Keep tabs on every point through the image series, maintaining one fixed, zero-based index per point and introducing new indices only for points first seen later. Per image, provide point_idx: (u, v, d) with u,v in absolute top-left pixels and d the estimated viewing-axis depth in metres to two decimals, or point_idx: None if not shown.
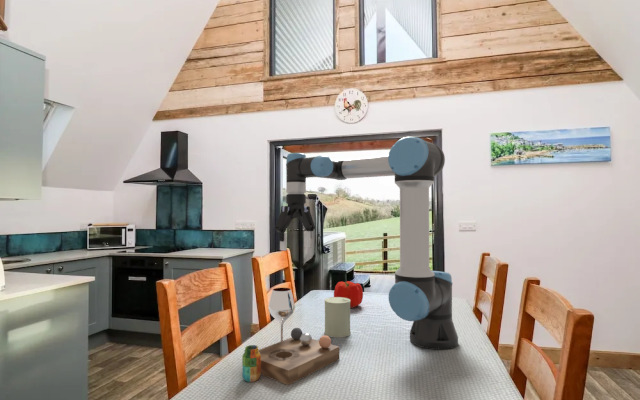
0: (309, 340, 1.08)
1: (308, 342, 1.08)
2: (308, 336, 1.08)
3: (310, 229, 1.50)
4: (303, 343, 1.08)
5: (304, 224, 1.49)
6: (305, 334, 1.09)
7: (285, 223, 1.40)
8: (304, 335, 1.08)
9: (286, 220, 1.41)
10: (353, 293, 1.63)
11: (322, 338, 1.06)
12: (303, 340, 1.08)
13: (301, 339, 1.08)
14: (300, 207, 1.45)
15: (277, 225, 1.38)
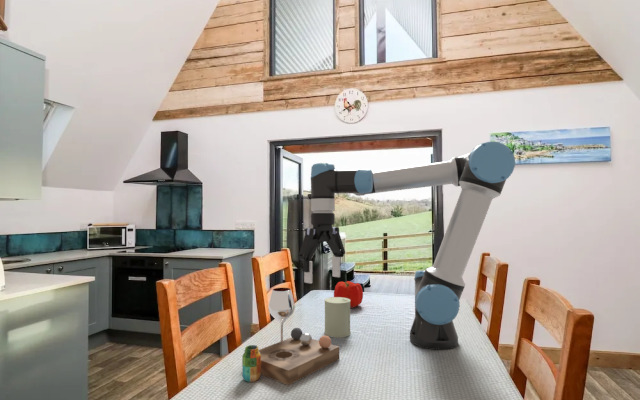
0: (309, 340, 1.08)
1: (308, 342, 1.08)
2: (308, 336, 1.08)
3: (339, 255, 1.24)
4: (303, 343, 1.08)
5: (332, 249, 1.23)
6: (305, 334, 1.09)
7: (310, 249, 1.14)
8: (304, 335, 1.08)
9: (311, 245, 1.15)
10: (353, 293, 1.63)
11: (322, 338, 1.06)
12: (303, 340, 1.08)
13: (301, 339, 1.08)
14: (328, 229, 1.19)
15: (301, 252, 1.12)
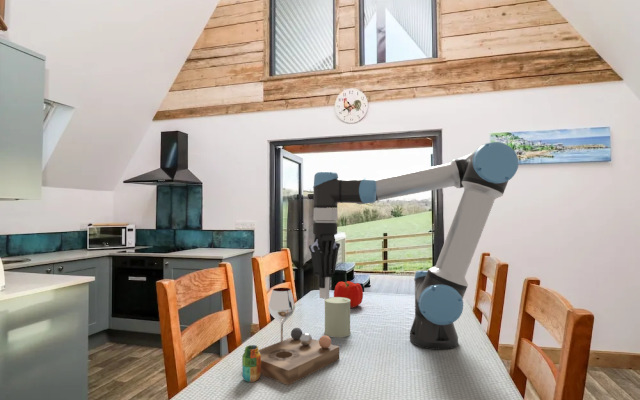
0: (309, 340, 1.08)
1: (308, 342, 1.08)
2: (308, 336, 1.08)
3: (329, 273, 1.17)
4: (303, 343, 1.08)
5: (325, 264, 1.17)
6: (305, 334, 1.09)
7: (322, 265, 1.15)
8: (304, 335, 1.08)
9: (321, 260, 1.15)
10: (353, 293, 1.63)
11: (322, 338, 1.06)
12: (303, 340, 1.08)
13: (301, 339, 1.08)
14: (331, 235, 1.18)
15: (315, 270, 1.14)
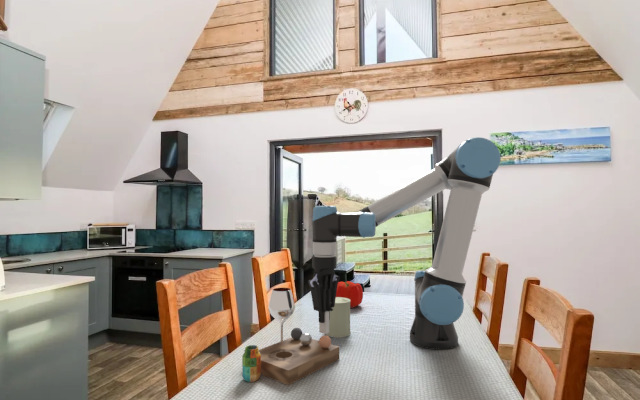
0: (309, 340, 1.08)
1: (308, 342, 1.08)
2: (308, 336, 1.08)
3: (329, 307, 1.16)
4: (303, 343, 1.08)
5: None
6: (305, 334, 1.09)
7: (321, 300, 1.14)
8: (304, 335, 1.08)
9: (320, 295, 1.15)
10: (353, 293, 1.63)
11: (322, 338, 1.06)
12: (303, 340, 1.08)
13: (301, 339, 1.08)
14: (331, 269, 1.17)
15: (315, 305, 1.13)
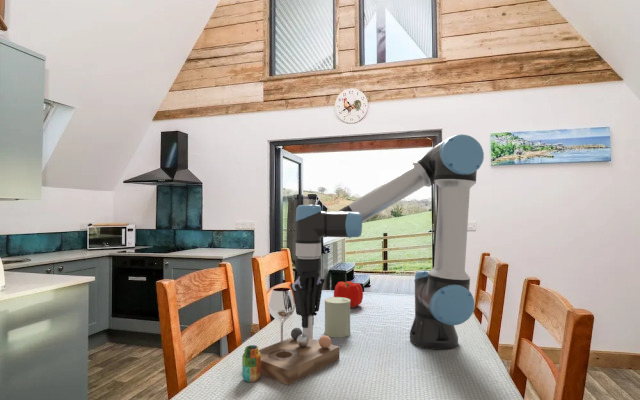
0: (306, 342, 1.07)
1: (306, 344, 1.07)
2: (303, 339, 1.07)
3: (312, 312, 1.10)
4: (302, 346, 1.07)
5: (308, 302, 1.11)
6: (300, 338, 1.07)
7: (304, 304, 1.09)
8: (299, 340, 1.07)
9: (303, 299, 1.09)
10: (353, 293, 1.63)
11: (322, 338, 1.06)
12: (300, 345, 1.07)
13: (298, 344, 1.07)
14: None
15: (297, 309, 1.08)
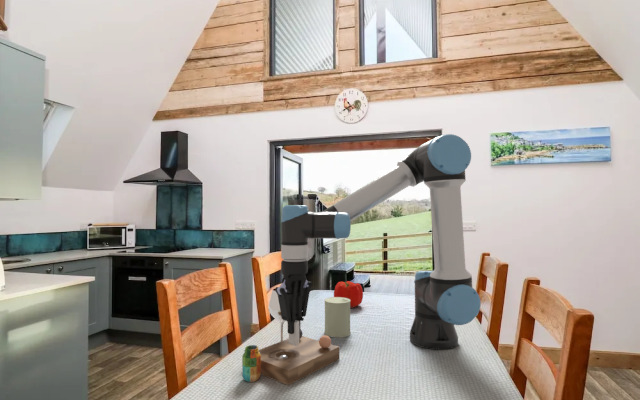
0: None
1: None
2: None
3: (299, 317, 1.06)
4: None
5: None
6: (284, 355, 1.02)
7: (290, 308, 1.04)
8: (282, 356, 1.02)
9: (289, 303, 1.04)
10: (353, 293, 1.63)
11: (322, 338, 1.06)
12: None
13: None
14: (302, 274, 1.07)
15: (283, 314, 1.03)
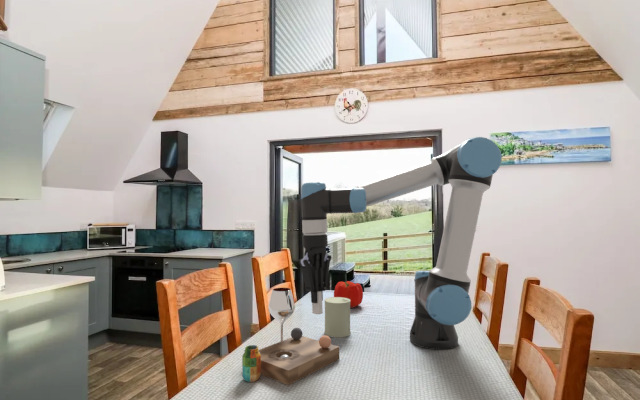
0: None
1: None
2: None
3: (321, 287, 1.12)
4: None
5: None
6: None
7: (313, 279, 1.11)
8: (285, 355, 1.02)
9: (312, 274, 1.11)
10: (353, 293, 1.63)
11: (322, 338, 1.06)
12: None
13: (280, 357, 1.02)
14: (322, 247, 1.14)
15: (306, 285, 1.10)
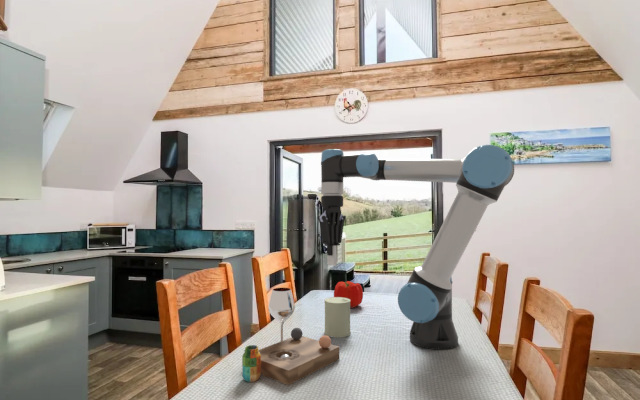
0: None
1: None
2: None
3: (336, 242, 1.28)
4: None
5: None
6: None
7: (329, 234, 1.26)
8: (286, 354, 1.03)
9: (329, 230, 1.26)
10: (353, 293, 1.63)
11: (322, 338, 1.06)
12: (283, 357, 1.01)
13: (281, 357, 1.02)
14: (338, 208, 1.29)
15: (324, 239, 1.25)
